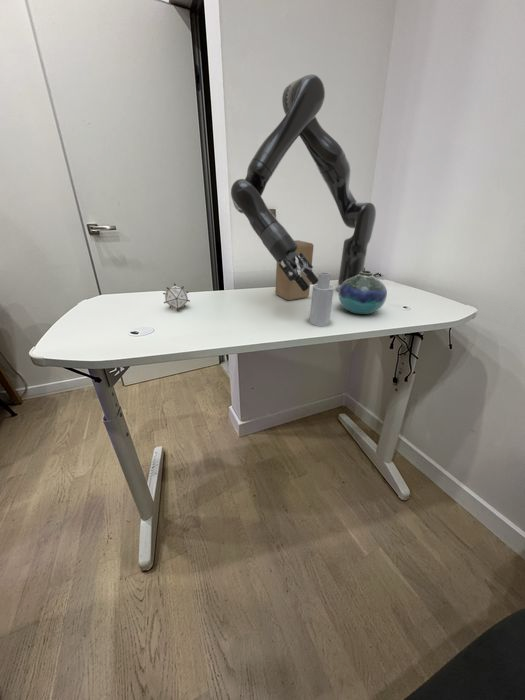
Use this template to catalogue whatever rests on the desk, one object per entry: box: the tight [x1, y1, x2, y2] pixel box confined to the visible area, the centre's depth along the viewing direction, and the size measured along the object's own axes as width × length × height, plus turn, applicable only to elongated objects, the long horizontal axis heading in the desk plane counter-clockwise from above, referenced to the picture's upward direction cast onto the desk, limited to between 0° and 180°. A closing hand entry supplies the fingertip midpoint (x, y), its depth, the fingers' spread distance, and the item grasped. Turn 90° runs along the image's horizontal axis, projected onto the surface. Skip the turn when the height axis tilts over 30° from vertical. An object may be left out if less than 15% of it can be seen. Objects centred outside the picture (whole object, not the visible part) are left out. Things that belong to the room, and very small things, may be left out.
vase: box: [338, 270, 388, 315], centre depth 96 cm, size 15×15×13 cm
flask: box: [308, 271, 335, 327], centre depth 86 cm, size 6×6×15 cm
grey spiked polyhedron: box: [162, 283, 191, 312], centre depth 96 cm, size 9×8×10 cm
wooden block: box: [274, 240, 315, 301], centre depth 109 cm, size 10×10×20 cm
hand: (311, 286), depth 86 cm, fingers open, 8 cm apart
